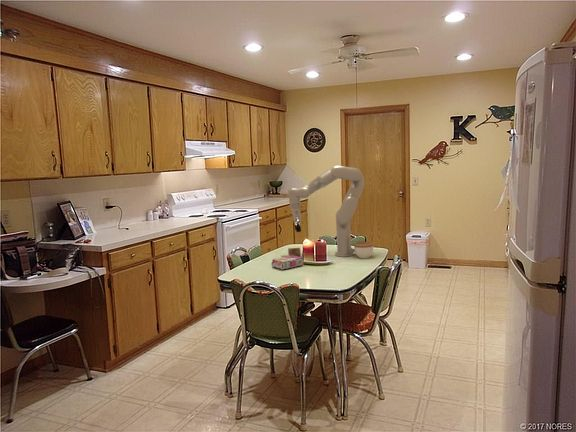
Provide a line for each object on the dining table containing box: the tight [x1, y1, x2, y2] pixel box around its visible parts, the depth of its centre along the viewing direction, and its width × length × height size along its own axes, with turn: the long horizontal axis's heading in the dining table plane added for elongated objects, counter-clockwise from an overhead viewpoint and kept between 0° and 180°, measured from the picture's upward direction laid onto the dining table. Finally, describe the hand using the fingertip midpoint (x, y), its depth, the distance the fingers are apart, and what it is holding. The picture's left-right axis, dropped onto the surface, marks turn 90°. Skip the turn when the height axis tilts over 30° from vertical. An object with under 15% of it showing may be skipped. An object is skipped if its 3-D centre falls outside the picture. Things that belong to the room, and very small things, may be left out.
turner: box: [280, 247, 301, 258], centre depth 307 cm, size 13×5×6 cm, turn 93°
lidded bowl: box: [353, 240, 374, 260], centre depth 294 cm, size 13×13×11 cm
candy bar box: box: [271, 255, 305, 270], centre depth 280 cm, size 11×5×16 cm
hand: (298, 230), depth 307 cm, fingers open, 9 cm apart
